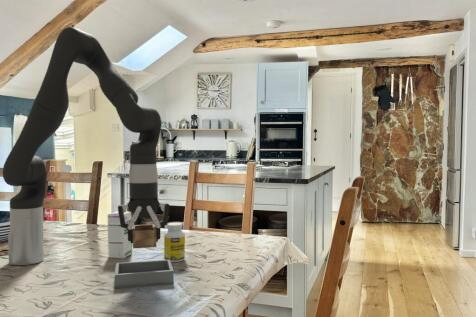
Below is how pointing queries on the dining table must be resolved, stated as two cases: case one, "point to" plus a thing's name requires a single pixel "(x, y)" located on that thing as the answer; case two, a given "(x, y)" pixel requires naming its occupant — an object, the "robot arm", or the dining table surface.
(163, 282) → the crate big
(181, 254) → the pill bottle
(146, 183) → the robot arm
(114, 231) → the syrup box
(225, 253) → the dining table surface
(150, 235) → the crate small
